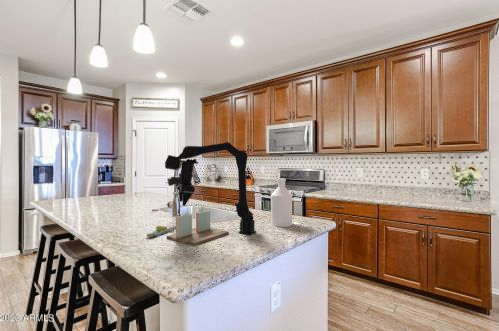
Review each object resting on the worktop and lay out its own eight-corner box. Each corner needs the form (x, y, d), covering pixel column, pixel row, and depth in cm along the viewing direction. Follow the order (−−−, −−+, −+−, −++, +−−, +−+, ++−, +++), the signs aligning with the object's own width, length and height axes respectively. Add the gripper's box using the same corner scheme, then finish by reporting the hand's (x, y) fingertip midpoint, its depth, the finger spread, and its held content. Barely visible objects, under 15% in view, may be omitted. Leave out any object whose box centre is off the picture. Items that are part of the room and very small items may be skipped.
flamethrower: (137, 237, 123) (155, 240, 120) (137, 231, 123) (155, 234, 120) (176, 224, 150) (191, 226, 147) (176, 219, 150) (191, 221, 147)
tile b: (192, 233, 124) (191, 214, 124) (178, 237, 118) (178, 217, 117) (189, 233, 125) (189, 214, 125) (175, 237, 119) (175, 217, 118)
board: (228, 233, 128) (228, 231, 128) (194, 245, 110) (194, 242, 110) (202, 228, 139) (202, 226, 139) (166, 238, 121) (166, 235, 121)
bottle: (266, 224, 146) (266, 179, 146) (277, 220, 156) (277, 177, 155) (286, 227, 139) (286, 179, 139) (296, 223, 149) (296, 178, 149)
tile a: (210, 228, 134) (210, 210, 134) (198, 231, 127) (198, 213, 127) (207, 228, 135) (207, 210, 135) (196, 231, 128) (195, 212, 128)
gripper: (167, 168, 135) (162, 198, 135) (172, 171, 118) (167, 206, 118) (189, 170, 140) (184, 200, 140) (197, 174, 123) (192, 208, 123)
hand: (182, 203), depth 130 cm, fingers open, 9 cm apart
